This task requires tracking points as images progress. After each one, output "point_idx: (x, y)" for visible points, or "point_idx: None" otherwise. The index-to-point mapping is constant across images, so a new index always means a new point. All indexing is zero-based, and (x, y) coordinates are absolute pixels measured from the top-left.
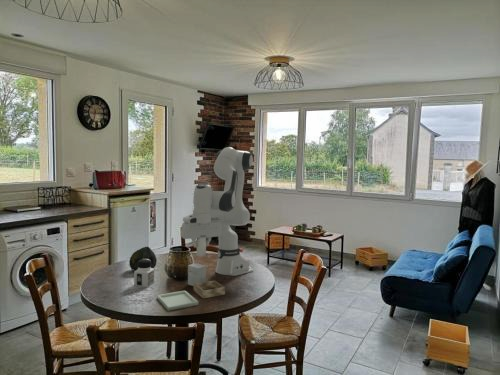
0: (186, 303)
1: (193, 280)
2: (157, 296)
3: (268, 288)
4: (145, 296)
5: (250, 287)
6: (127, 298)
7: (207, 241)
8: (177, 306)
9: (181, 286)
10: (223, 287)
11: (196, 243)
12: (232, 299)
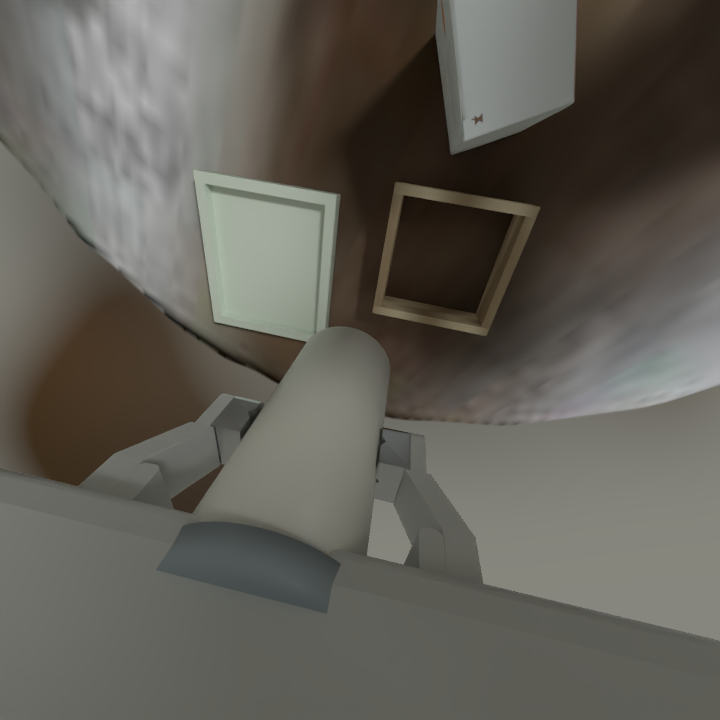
0: (279, 332)
1: (445, 88)
2: (197, 174)
3: (693, 389)
4: (153, 97)
5: (654, 330)
6: (67, 65)
7: (406, 502)
8: (247, 326)
9: (379, 46)
10: (480, 332)
11: (229, 449)
12: (461, 375)
